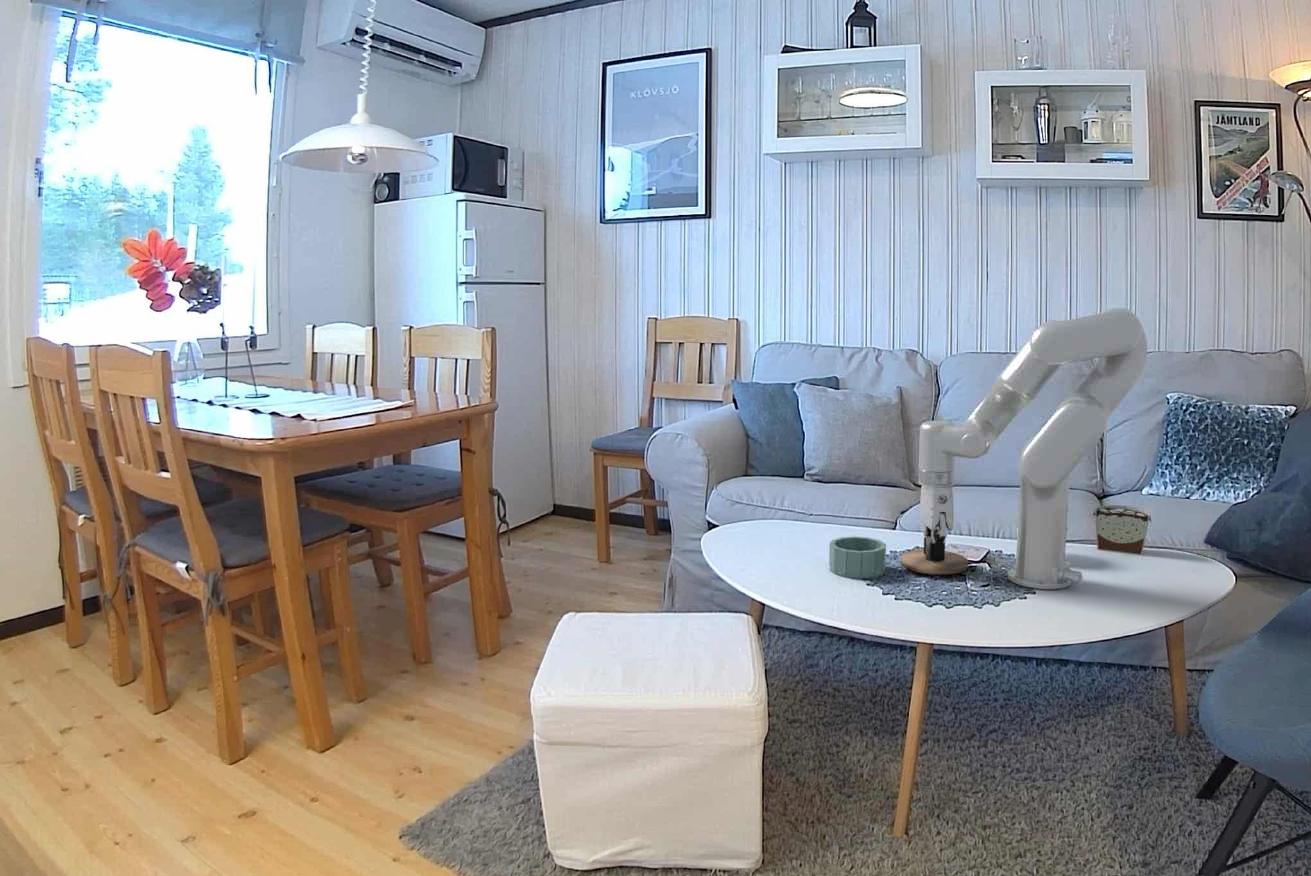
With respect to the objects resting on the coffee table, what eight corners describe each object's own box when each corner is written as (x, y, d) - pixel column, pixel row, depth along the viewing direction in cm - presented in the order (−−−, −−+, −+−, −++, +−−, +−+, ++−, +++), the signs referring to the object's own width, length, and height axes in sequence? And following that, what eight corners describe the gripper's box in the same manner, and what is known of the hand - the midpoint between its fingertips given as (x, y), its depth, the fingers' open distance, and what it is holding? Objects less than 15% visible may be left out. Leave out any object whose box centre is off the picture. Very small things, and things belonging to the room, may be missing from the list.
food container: (1151, 549, 215) (1154, 508, 214) (1149, 556, 210) (1152, 514, 209) (1094, 542, 222) (1096, 502, 220) (1090, 549, 217) (1093, 508, 215)
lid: (980, 568, 204) (981, 538, 203) (943, 583, 195) (944, 551, 194) (924, 554, 215) (924, 526, 214) (887, 568, 206) (887, 538, 205)
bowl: (895, 570, 204) (896, 544, 203) (862, 582, 197) (863, 555, 196) (852, 558, 213) (852, 533, 212) (818, 569, 206) (819, 544, 205)
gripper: (966, 485, 193) (963, 568, 196) (941, 469, 209) (939, 546, 213) (930, 485, 193) (928, 569, 196) (908, 469, 209) (906, 547, 213)
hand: (933, 556), depth 204 cm, fingers closed on lid, 3 cm apart
